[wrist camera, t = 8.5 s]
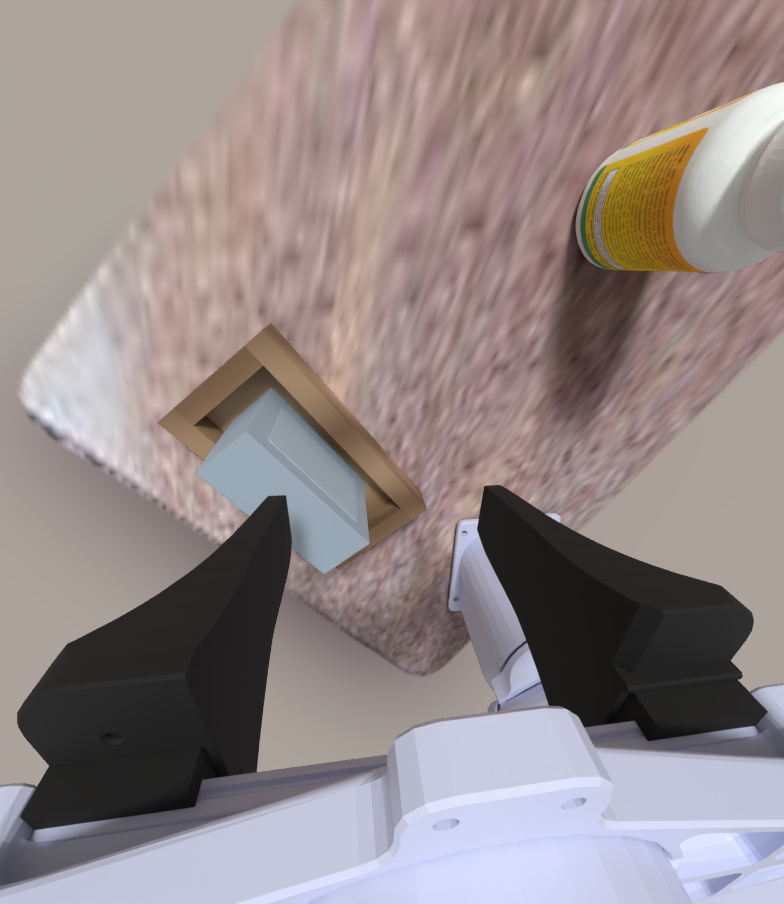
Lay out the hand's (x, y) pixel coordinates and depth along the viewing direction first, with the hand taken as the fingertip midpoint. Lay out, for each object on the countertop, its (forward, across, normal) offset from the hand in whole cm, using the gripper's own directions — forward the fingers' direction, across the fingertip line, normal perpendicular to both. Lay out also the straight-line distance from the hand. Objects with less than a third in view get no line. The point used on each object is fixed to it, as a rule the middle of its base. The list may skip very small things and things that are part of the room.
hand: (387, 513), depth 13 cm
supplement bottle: (+10, -13, -11) cm, 20 cm away
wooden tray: (+10, +4, +3) cm, 11 cm away
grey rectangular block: (+9, +4, +2) cm, 10 cm away
